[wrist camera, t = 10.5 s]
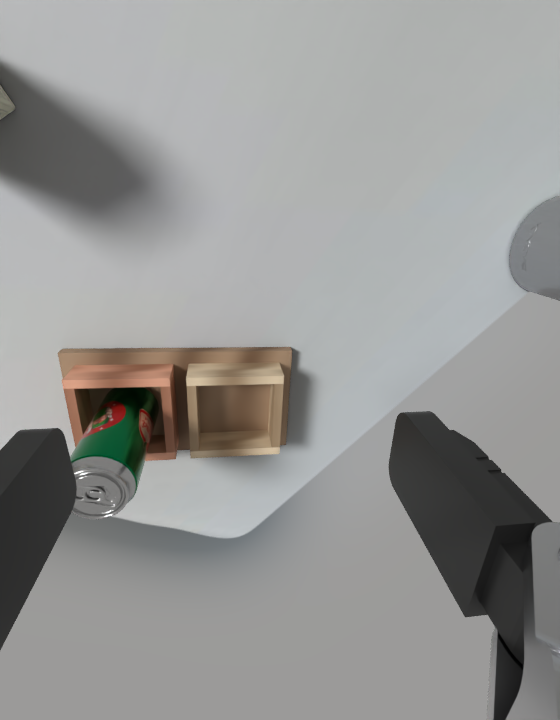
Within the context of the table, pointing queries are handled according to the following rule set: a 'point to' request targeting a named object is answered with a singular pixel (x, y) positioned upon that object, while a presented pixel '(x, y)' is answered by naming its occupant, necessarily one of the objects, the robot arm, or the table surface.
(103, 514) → the soda can
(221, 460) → the table surface
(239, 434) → the can rack
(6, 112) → the skincare box
